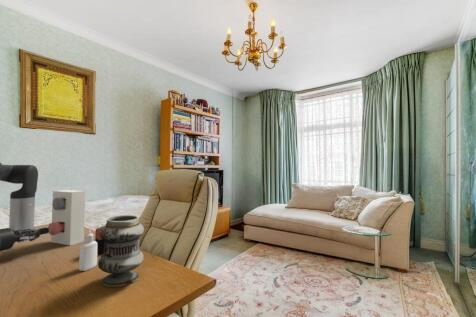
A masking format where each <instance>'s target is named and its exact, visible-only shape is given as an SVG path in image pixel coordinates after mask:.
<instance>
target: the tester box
mask: <svg viewBox="0 0 476 317" xmlns="http://www.w3.org/2000/svg"><path fill="white" fill-rule="evenodd" d="M55 198H63V199H64V200H65V207H64V209H61V210H55V209H54V208H53V205H52V208H51V209H52V210H51V223H54V222H59V223H60V224H62V223H65V228H64V230H62V231H60V233H59V234H56V235H50V240H51V241H50V242H51V243H55V244H60V245H66V246H72V245H73V246H74V245H77V244H80V243H81V244H82V243H85V217H86V216H85V214H86V213H85V212H86V191H85V190H76V189H75V190H72V189H61V190H52V201H53V200H54V199H55Z"/></svg>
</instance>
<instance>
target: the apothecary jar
mask: <svg viewBox="0 0 476 317" xmlns="http://www.w3.org/2000/svg"><path fill="white" fill-rule="evenodd" d="M144 231H145V228H144V226H143V224H141V223H140V220H139V217H138V216H137V215H133V214H124V215H123V214H122V215H115V216H110V217H108V218H107V219H106V223H105V225H104V227H103V228H102V229H101V230H100V237H101V238H102V239H103V240H104V252H103V254H101V255H100V257H99V259H98V260H97V266H98V269H99V270H101V271H102V272H104V273H107V275H106V276H104V277H103V279H101V284H102V286H104V287H108V288H119V287H125V286H127V285H129V284H132V283H133V284H134V283H135V282H136V281H138V279H139V278H140V274H139V273H138V272H137V271H136V272H135V271H133V270H136V268H138V267H139V266H140V265H141V264H142V263H143V262H144V261H143V260H144V257H145V256H144V253H143V252H142V251H141V249H140V237H141V236H142V235H143V234H144Z"/></svg>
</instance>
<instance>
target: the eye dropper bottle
mask: <svg viewBox="0 0 476 317" xmlns="http://www.w3.org/2000/svg"><path fill="white" fill-rule="evenodd" d="M78 255H79V259H78V260H79V261H78V262H79V263H78V264H79V265H78V269H79V271H80V272H86V271H90V270H92V269H94V268H95V267H97V266H98V254H97V242H96V241H95V240H94V233H92V231H91V230H87V234H84V242H82V243H81V245H80V247H79V254H78Z"/></svg>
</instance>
